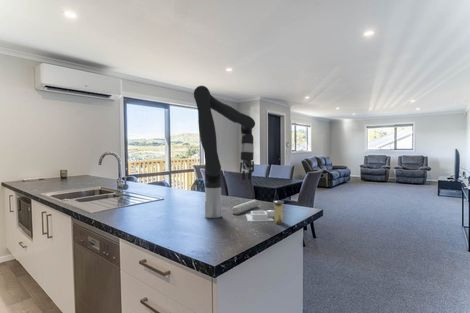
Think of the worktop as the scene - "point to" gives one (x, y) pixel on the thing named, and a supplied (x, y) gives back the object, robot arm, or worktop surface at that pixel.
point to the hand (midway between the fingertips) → (246, 179)
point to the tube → (245, 207)
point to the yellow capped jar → (278, 211)
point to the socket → (260, 216)
